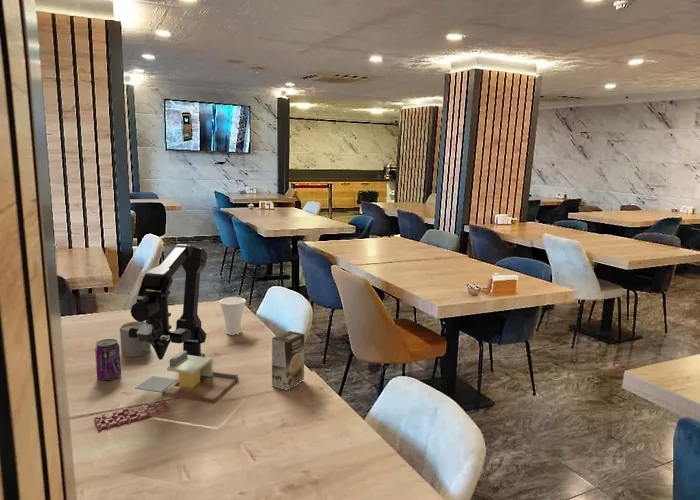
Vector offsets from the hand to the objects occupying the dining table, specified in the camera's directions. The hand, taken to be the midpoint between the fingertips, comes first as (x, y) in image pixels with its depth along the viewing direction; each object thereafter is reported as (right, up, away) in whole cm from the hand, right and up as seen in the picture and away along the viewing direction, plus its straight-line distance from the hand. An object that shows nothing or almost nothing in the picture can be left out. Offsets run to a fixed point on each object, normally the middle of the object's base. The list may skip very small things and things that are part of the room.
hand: (160, 359), depth 163 cm
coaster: (-1, -8, 0) cm, 8 cm away
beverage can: (-18, -7, +5) cm, 20 cm away
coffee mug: (-18, -3, +25) cm, 31 cm away
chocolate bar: (-1, -12, -19) cm, 22 cm away
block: (+9, -8, -1) cm, 12 cm away
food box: (+40, -9, +3) cm, 41 cm away
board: (+13, -9, -2) cm, 16 cm away
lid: (+10, -7, -1) cm, 12 cm away
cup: (+12, 0, +48) cm, 50 cm away
